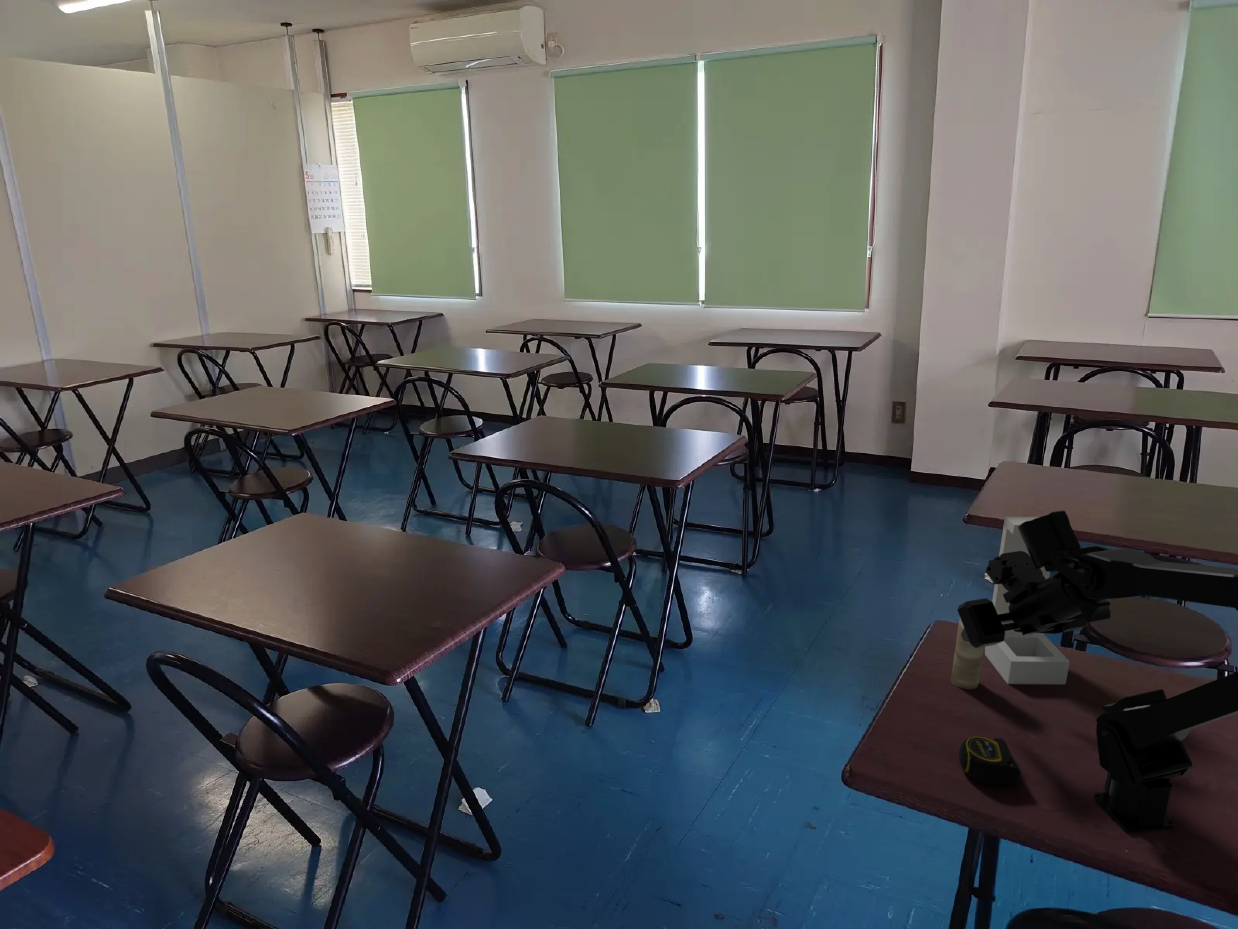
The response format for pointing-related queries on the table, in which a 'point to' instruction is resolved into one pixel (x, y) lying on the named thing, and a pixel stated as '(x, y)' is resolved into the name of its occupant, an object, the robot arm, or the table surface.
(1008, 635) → the white holder stand
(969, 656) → the peg
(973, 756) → the tape measure
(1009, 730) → the table surface
